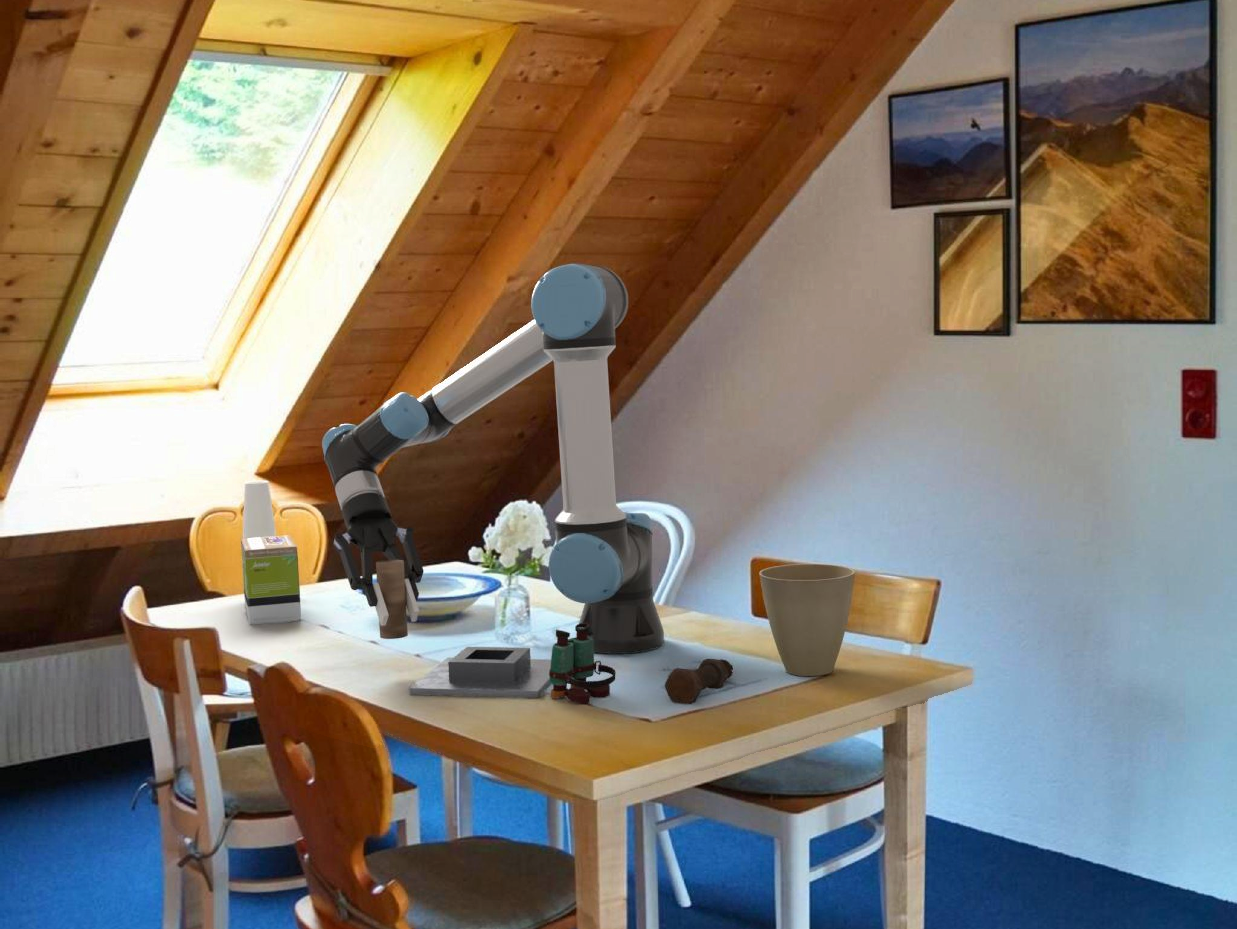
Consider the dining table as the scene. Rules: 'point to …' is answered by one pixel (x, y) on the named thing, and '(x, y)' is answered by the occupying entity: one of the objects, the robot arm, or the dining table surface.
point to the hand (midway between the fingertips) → (400, 618)
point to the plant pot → (808, 614)
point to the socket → (487, 674)
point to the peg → (393, 598)
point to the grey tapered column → (258, 510)
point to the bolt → (697, 680)
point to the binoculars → (577, 668)
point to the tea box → (271, 579)
